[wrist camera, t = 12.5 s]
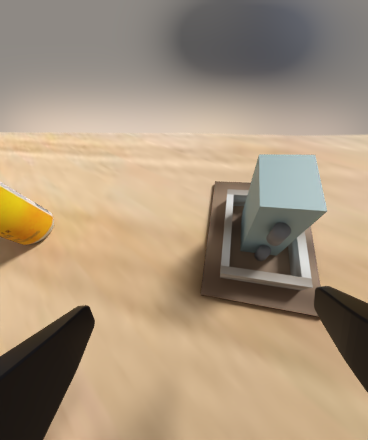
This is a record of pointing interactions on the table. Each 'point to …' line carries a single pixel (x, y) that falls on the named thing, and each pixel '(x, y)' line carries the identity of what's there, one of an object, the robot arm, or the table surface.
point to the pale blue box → (280, 203)
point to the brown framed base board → (255, 261)
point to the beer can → (22, 218)
